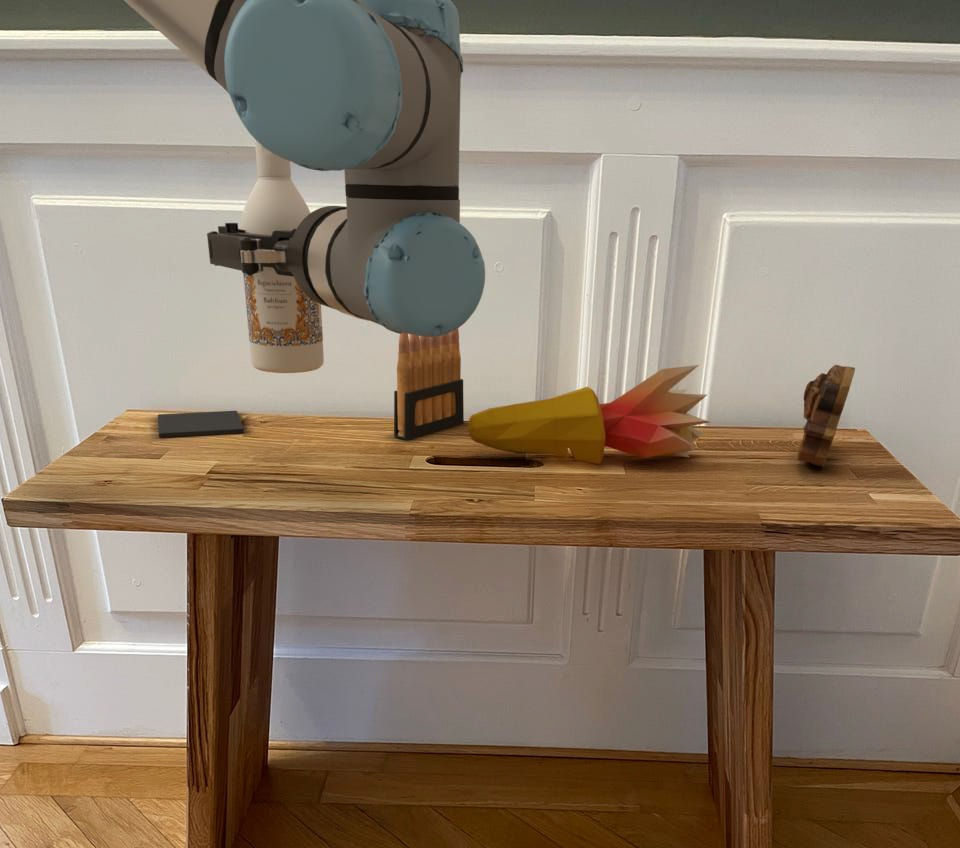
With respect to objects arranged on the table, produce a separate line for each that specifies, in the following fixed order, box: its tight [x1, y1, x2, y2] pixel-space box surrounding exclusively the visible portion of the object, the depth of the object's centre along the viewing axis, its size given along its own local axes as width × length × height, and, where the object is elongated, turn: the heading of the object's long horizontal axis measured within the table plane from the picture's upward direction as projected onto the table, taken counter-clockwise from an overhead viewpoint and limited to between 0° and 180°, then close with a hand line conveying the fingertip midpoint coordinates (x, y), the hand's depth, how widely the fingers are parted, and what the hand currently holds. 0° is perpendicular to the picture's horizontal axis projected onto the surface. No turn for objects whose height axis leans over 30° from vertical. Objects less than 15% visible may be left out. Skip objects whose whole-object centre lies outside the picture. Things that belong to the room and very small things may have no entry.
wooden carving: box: [797, 364, 856, 468], centre depth 93 cm, size 16×5×10 cm, turn 162°
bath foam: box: [239, 139, 325, 374], centre depth 84 cm, size 7×7×20 cm
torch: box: [467, 364, 710, 465], centre depth 93 cm, size 8×8×25 cm
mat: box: [157, 410, 245, 439], centre depth 104 cm, size 9×9×1 cm
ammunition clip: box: [393, 328, 465, 441], centre depth 101 cm, size 11×2×12 cm, turn 144°
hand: (263, 241), depth 88 cm, fingers closed on bath foam, 7 cm apart
